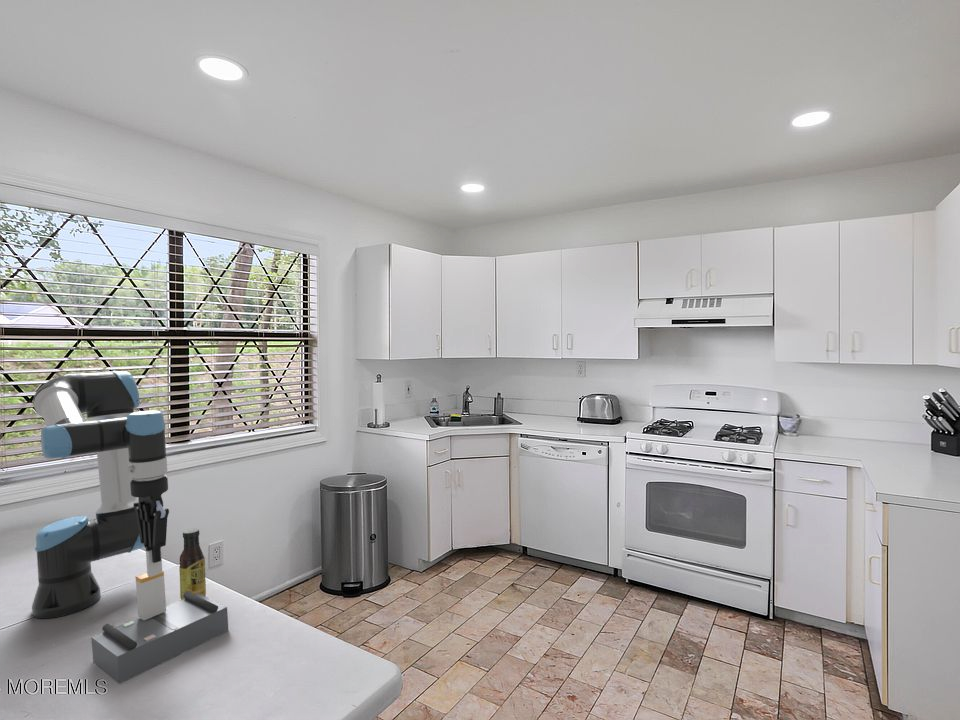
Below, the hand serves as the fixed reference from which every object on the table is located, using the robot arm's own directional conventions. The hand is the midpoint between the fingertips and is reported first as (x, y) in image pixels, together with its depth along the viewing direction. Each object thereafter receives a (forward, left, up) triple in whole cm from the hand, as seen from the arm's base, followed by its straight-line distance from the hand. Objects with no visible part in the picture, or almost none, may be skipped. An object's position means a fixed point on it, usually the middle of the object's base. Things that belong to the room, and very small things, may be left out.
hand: (154, 574), depth 127 cm
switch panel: (+2, 0, -17) cm, 17 cm away
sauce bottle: (-14, +15, -17) cm, 26 cm away
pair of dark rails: (+2, 0, -11) cm, 11 cm away
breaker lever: (-3, 0, -11) cm, 11 cm away
